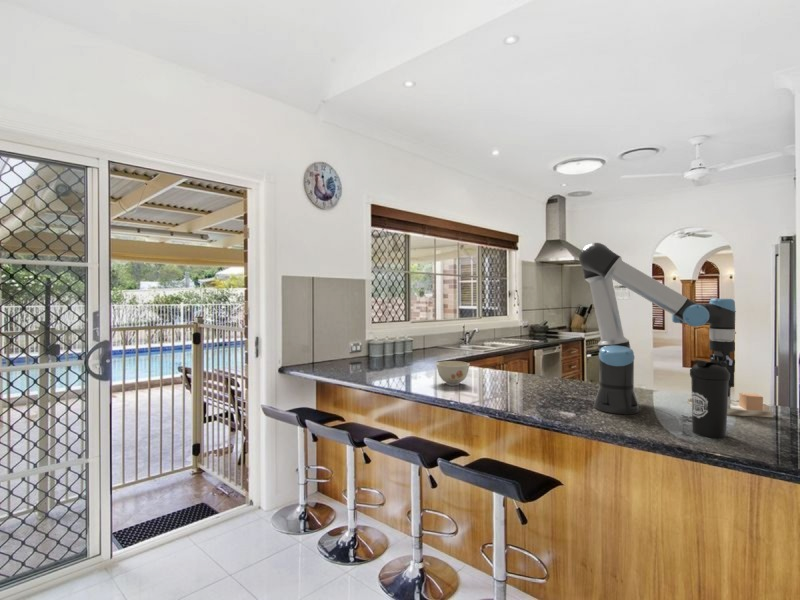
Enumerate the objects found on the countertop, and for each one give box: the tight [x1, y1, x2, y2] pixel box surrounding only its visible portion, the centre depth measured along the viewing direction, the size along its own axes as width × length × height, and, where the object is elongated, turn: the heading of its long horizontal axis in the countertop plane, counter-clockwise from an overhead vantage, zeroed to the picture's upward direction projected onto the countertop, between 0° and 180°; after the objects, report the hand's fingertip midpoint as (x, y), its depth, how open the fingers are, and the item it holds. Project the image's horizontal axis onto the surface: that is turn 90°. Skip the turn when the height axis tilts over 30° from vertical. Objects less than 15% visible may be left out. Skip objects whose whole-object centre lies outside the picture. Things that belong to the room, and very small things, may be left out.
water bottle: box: [689, 359, 730, 439], centre depth 133 cm, size 10×10×23 cm
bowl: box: [436, 360, 470, 387], centre depth 206 cm, size 16×16×10 cm
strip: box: [727, 387, 773, 412], centre depth 156 cm, size 16×6×10 cm, turn 76°
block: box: [738, 392, 764, 411], centre depth 155 cm, size 5×5×5 cm
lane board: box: [687, 397, 775, 418], centre depth 160 cm, size 21×16×2 cm
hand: (721, 402), depth 157 cm, fingers closed on strip, 5 cm apart
